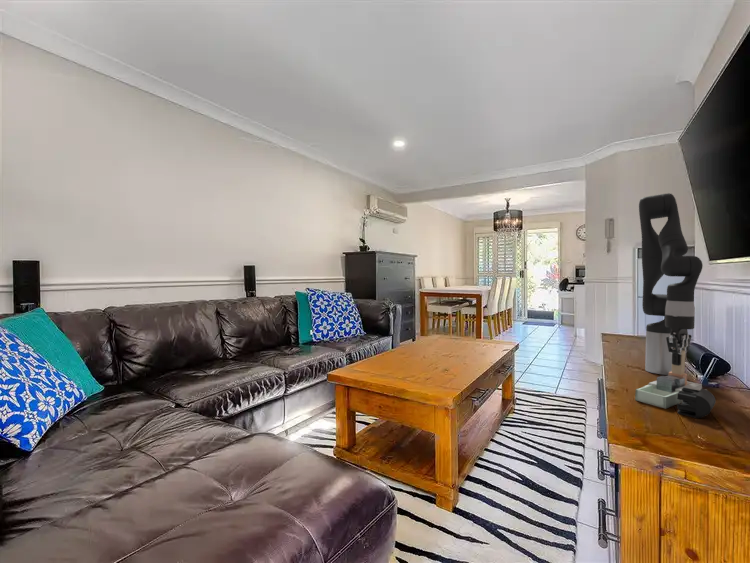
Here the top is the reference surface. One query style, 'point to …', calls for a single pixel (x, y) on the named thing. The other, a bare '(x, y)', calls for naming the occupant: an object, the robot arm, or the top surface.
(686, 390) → the end cap
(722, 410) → the top surface
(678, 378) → the grey cube block
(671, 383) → the dark grey cube
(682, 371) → the two-tone stepped bar
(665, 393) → the slot board
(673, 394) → the tray
